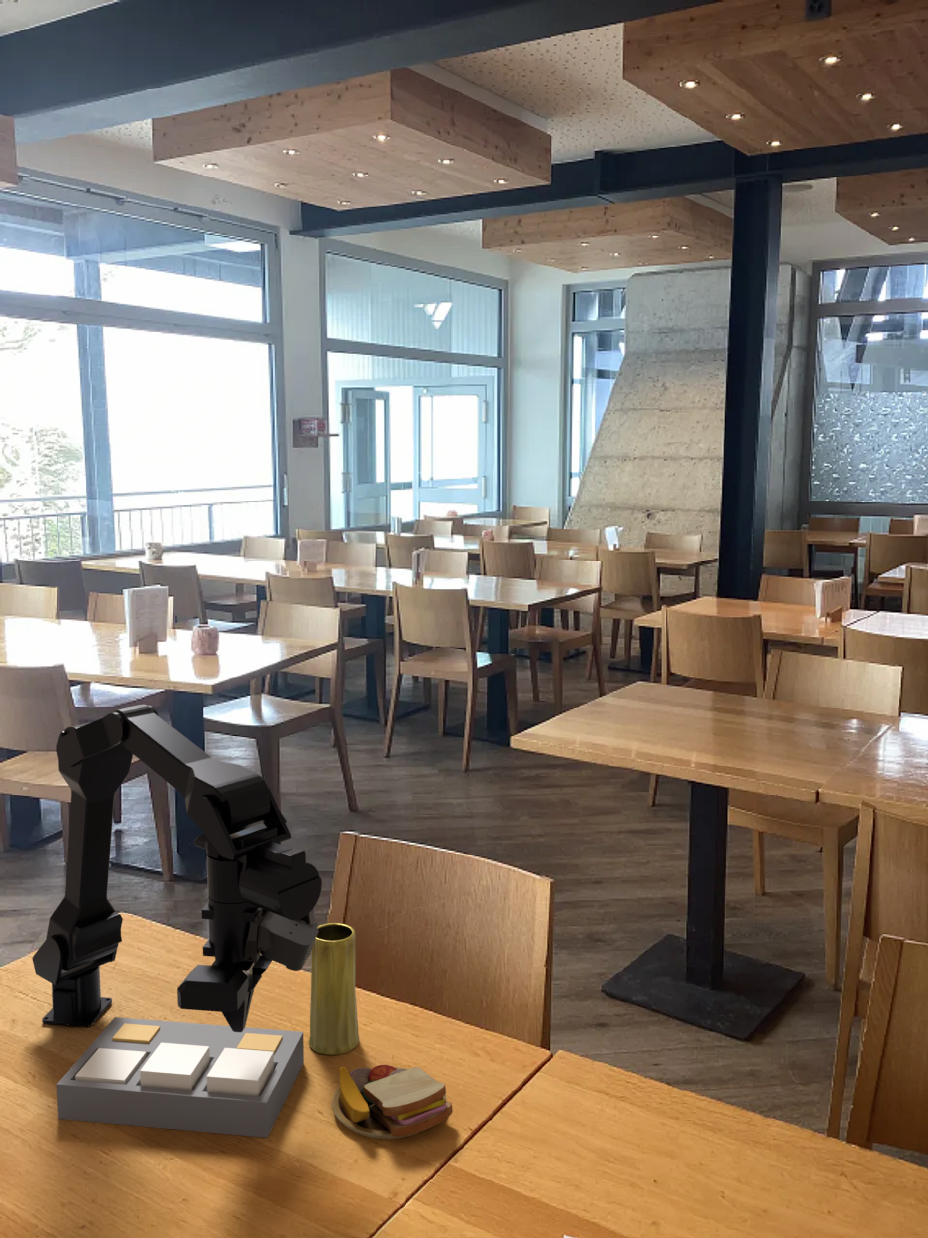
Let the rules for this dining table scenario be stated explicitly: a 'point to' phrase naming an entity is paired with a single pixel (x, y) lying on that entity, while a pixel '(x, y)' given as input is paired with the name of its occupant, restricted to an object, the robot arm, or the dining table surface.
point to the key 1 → (111, 1066)
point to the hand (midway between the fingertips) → (238, 1030)
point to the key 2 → (241, 1072)
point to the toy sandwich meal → (389, 1101)
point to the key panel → (177, 1104)
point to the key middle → (175, 1066)
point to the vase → (333, 990)
